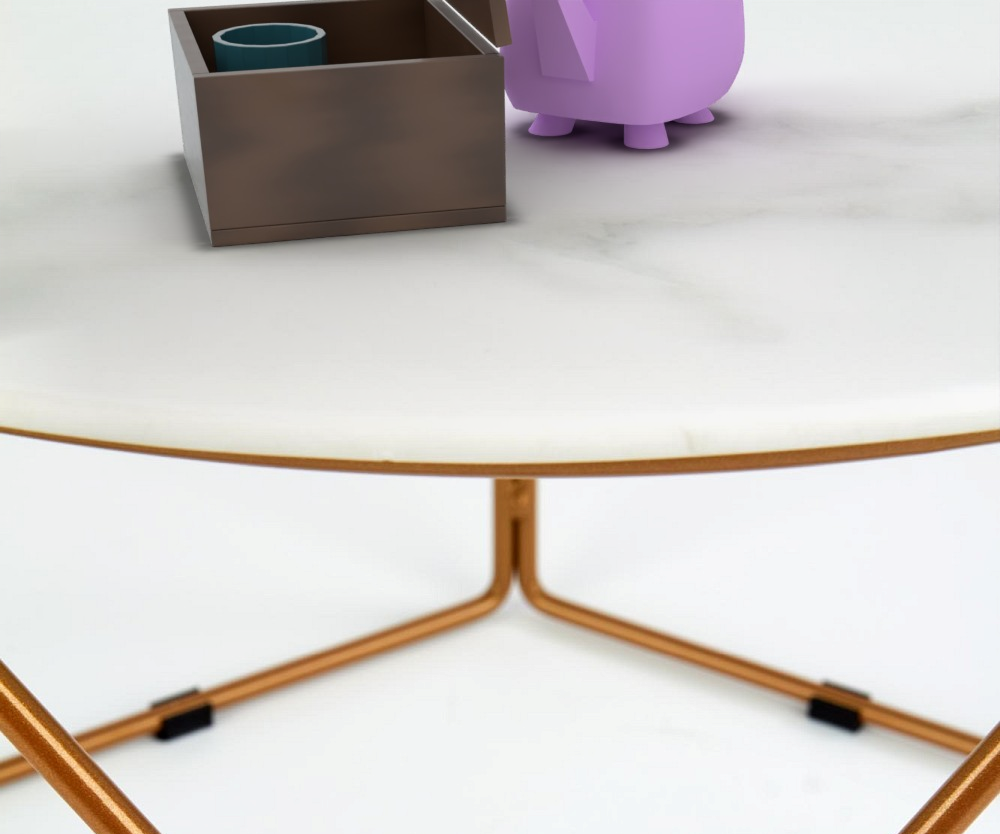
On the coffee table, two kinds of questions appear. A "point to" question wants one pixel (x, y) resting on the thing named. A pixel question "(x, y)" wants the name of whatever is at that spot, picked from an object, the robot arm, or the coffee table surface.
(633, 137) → the purple piggy bank
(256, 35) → the cup
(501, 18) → the lid
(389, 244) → the coffee table surface
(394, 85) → the brown wooden box
